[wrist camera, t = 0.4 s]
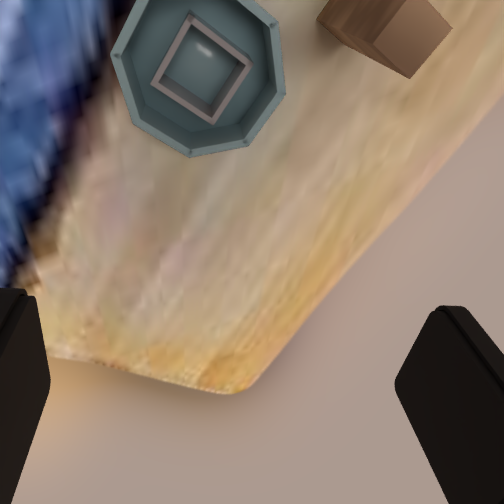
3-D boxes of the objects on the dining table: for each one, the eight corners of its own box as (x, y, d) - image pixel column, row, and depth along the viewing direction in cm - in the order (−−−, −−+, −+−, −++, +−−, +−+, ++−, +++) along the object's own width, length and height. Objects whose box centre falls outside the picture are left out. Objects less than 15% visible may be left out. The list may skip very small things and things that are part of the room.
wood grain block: (343, -20, 30) (415, -12, 20) (371, 8, 31) (452, 28, 21) (316, 19, 31) (372, 44, 21) (344, 44, 32) (409, 79, 22)
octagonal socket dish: (174, -66, 27) (170, -70, 23) (301, 43, 32) (315, 53, 28) (101, 82, 32) (88, 97, 28) (221, 157, 36) (224, 179, 33)
